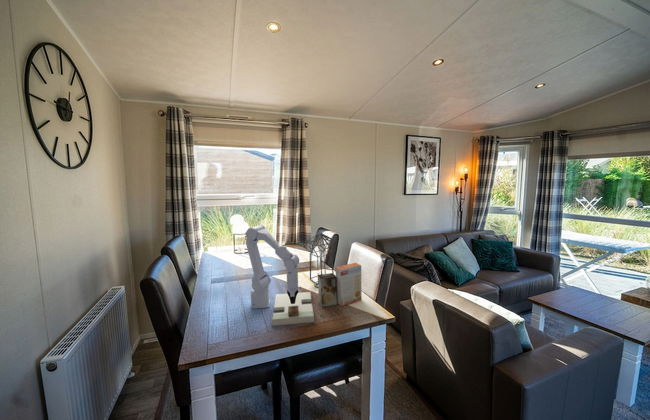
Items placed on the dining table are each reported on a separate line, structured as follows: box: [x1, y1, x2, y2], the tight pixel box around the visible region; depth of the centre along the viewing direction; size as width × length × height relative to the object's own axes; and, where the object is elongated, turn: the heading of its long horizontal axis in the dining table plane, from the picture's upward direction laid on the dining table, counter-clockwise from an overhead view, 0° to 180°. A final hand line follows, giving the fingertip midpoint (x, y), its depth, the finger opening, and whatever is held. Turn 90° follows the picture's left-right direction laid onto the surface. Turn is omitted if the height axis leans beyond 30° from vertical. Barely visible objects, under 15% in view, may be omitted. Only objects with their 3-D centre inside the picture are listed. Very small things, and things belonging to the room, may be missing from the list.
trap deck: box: [271, 291, 315, 327], centre depth 131 cm, size 20×28×3 cm
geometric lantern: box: [304, 232, 337, 288], centre depth 156 cm, size 16×16×35 cm
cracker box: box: [335, 262, 363, 307], centre depth 136 cm, size 14×6×21 cm, turn 120°
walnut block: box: [288, 306, 299, 317], centre depth 120 cm, size 5×5×4 cm
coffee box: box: [317, 272, 338, 308], centre depth 135 cm, size 9×6×16 cm
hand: (292, 303), depth 129 cm, fingers closed
